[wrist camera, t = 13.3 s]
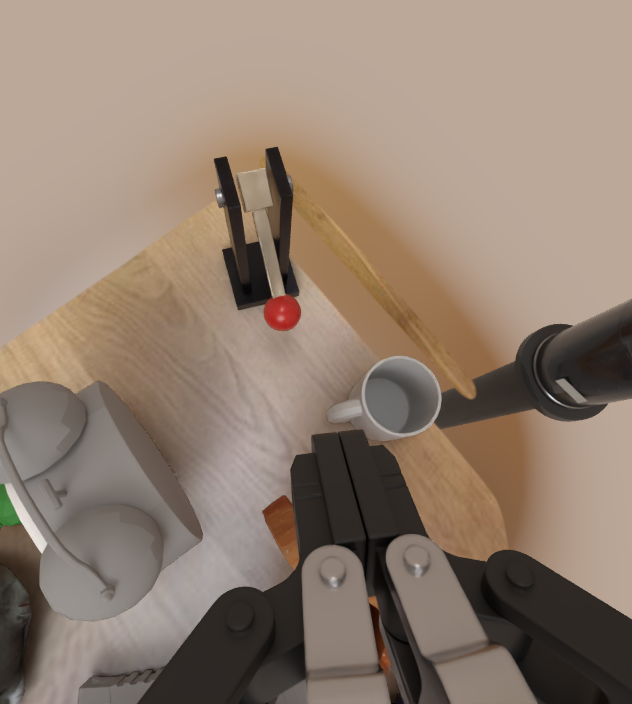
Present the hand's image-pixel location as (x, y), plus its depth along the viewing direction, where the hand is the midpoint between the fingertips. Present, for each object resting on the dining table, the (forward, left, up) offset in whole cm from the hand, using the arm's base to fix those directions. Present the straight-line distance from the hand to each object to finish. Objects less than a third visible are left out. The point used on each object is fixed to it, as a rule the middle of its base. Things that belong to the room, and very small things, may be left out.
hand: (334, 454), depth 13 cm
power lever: (-2, -17, -22) cm, 28 cm away
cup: (-9, -3, -34) cm, 35 cm away
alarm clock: (+15, -2, -34) cm, 37 cm away
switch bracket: (-2, -21, -34) cm, 40 cm away
